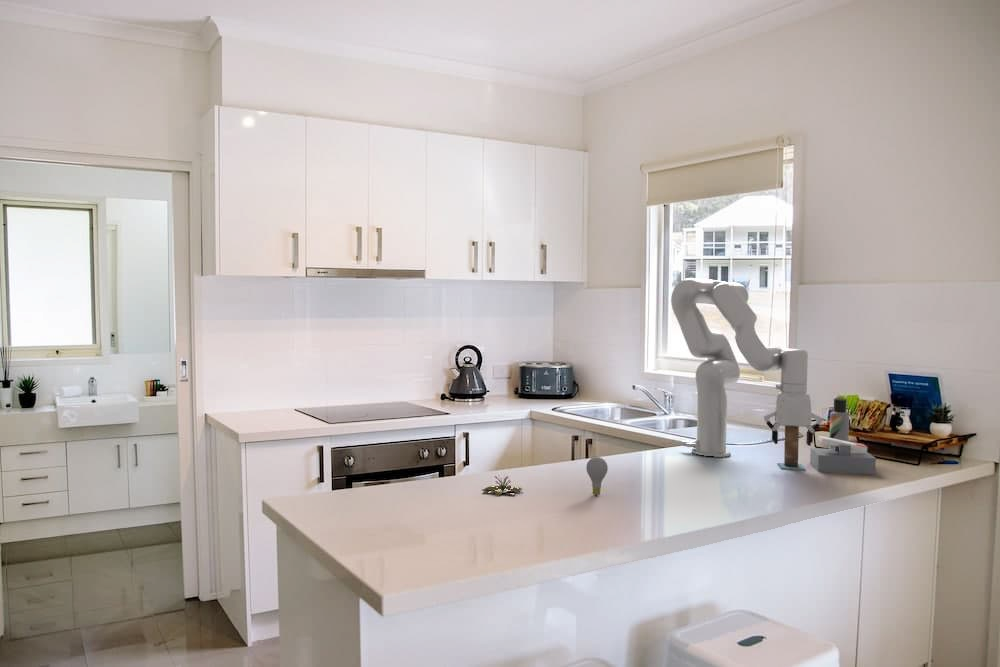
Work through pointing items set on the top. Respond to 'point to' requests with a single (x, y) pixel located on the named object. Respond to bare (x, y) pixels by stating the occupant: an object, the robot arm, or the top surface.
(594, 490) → the light bulb
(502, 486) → the flowering plant
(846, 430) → the lotion bottle
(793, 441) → the brown wooden block
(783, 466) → the mat
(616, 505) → the top surface
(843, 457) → the box
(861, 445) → the breaker rocker
